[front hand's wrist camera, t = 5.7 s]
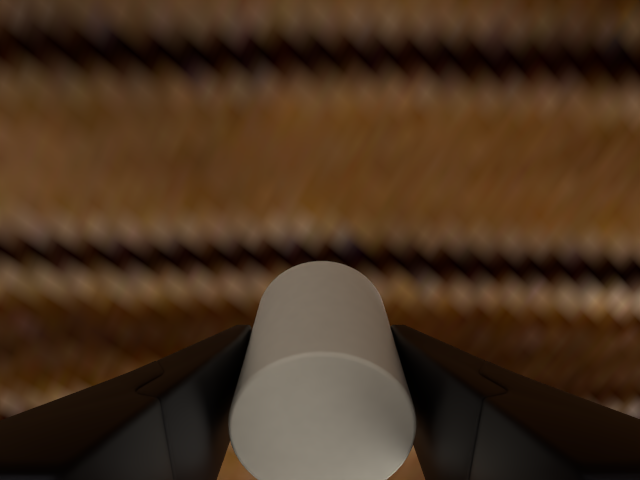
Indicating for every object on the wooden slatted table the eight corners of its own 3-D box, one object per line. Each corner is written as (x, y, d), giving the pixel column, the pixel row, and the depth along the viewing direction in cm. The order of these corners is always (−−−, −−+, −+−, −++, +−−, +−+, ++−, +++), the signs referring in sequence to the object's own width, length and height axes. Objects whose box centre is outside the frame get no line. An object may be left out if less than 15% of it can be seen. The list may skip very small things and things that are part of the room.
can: (324, 390, 14) (327, 526, 9) (232, 321, 13) (188, 437, 9) (410, 314, 13) (457, 428, 8) (317, 234, 12) (315, 316, 8)
